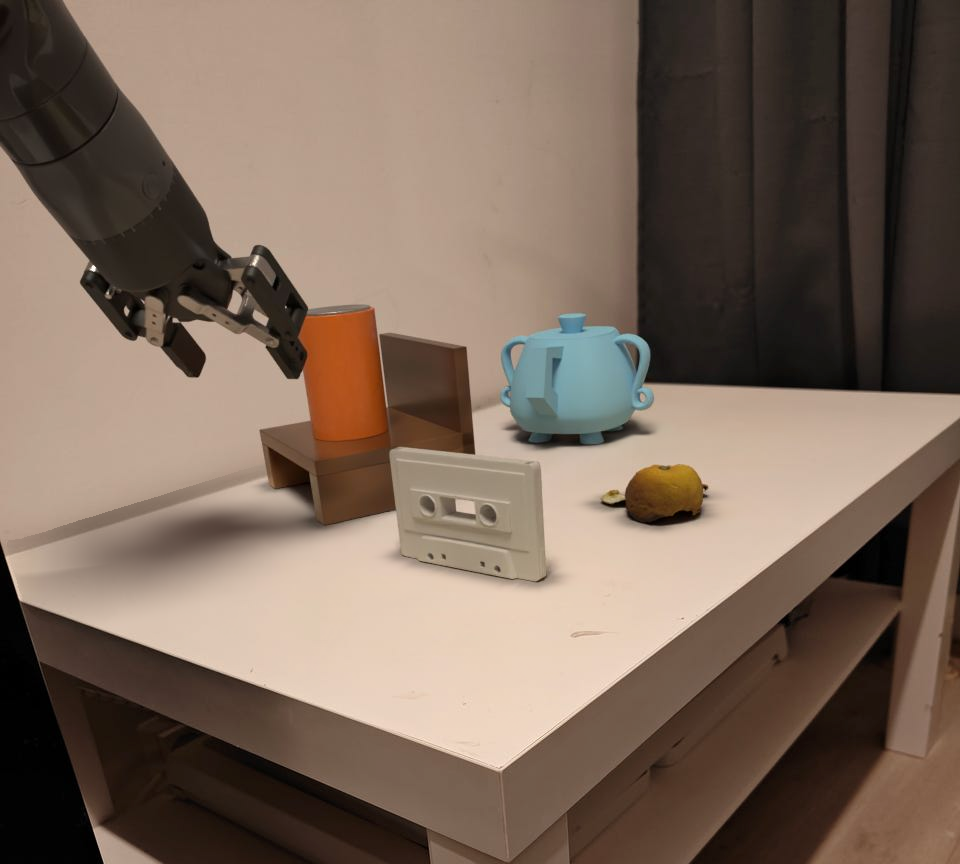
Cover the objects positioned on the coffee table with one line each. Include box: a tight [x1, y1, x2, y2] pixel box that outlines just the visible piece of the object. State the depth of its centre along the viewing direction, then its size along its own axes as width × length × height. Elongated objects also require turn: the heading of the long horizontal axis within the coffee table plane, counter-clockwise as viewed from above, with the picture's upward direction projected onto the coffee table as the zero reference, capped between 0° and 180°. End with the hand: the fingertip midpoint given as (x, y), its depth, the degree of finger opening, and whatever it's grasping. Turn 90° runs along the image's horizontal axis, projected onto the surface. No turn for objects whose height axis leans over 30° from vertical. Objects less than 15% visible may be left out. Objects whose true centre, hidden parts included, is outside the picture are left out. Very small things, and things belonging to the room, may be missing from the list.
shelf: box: [259, 332, 476, 526], centre depth 81 cm, size 14×16×12 cm
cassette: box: [389, 447, 547, 582], centre depth 62 cm, size 12×2×8 cm, turn 53°
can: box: [298, 303, 389, 441], centre depth 79 cm, size 7×7×10 cm
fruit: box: [600, 463, 709, 523], centre depth 71 cm, size 8×8×4 cm
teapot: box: [499, 312, 655, 445], centre depth 95 cm, size 20×17×12 cm
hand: (247, 369), depth 69 cm, fingers open, 8 cm apart
